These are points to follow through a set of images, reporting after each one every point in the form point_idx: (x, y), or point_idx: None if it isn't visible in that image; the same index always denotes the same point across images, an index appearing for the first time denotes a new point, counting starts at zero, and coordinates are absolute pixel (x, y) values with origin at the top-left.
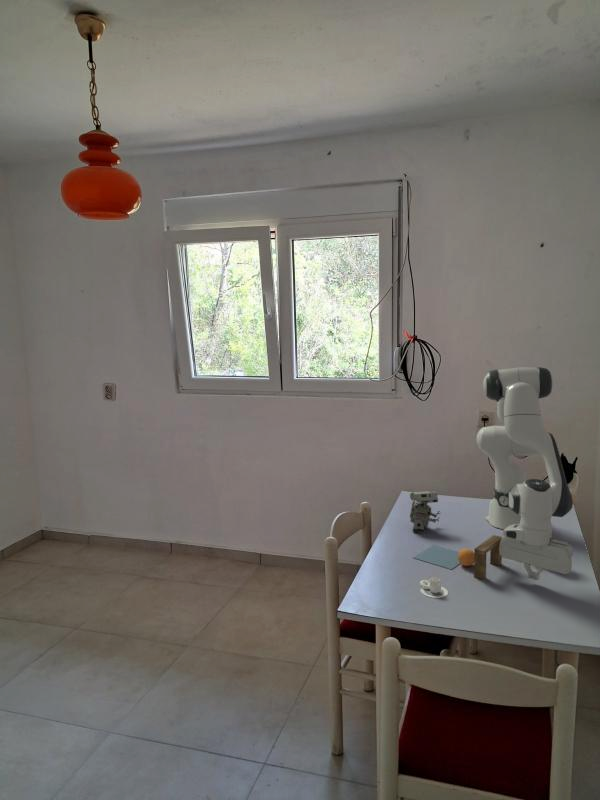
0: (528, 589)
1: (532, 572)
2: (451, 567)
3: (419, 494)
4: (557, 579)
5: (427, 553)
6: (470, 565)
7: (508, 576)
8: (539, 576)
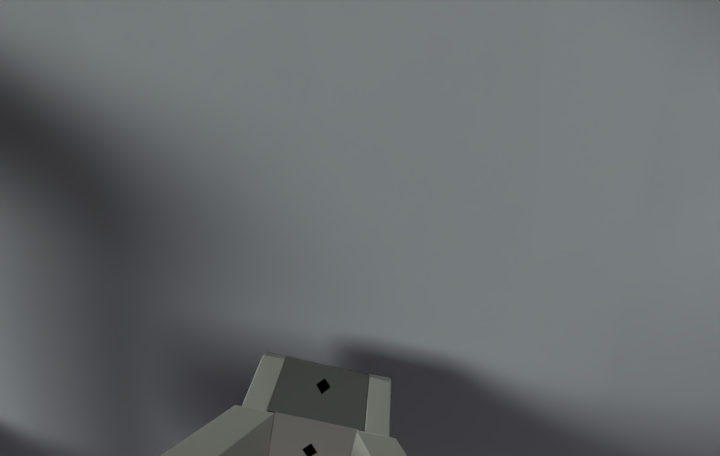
0: None
1: (291, 445)
2: None
3: None
4: (629, 92)
5: None
6: None
7: (61, 282)
8: (390, 397)
